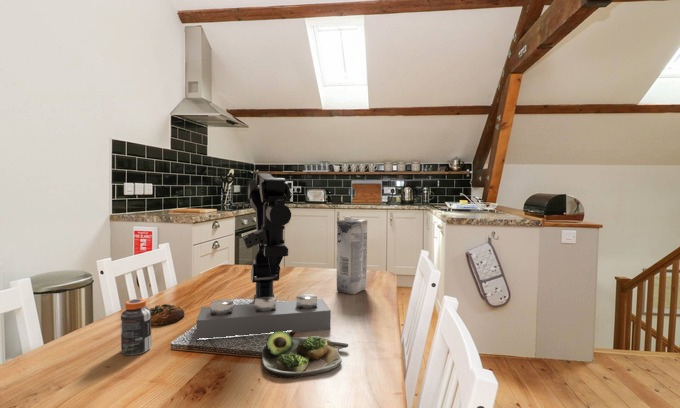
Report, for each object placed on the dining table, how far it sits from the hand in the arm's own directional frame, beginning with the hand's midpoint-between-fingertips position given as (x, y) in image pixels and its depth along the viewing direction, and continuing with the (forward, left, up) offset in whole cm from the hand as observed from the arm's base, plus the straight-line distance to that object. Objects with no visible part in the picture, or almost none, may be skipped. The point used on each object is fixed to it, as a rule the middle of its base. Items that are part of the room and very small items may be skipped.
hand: (273, 274), depth 105 cm
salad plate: (+29, +3, -12) cm, 31 cm away
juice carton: (-18, +29, -12) cm, 37 cm away
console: (+10, -3, -12) cm, 15 cm away
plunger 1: (+10, -14, -11) cm, 20 cm away
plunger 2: (+10, +8, -11) cm, 17 cm away
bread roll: (-3, -30, -12) cm, 33 cm away
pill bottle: (+17, -32, -12) cm, 38 cm away
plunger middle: (+10, -3, -11) cm, 15 cm away
